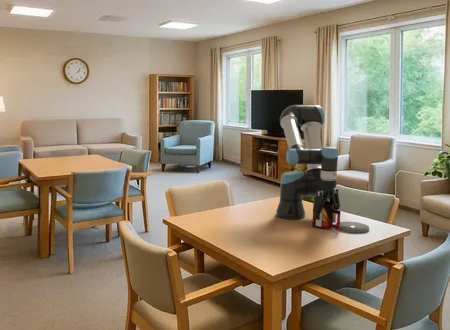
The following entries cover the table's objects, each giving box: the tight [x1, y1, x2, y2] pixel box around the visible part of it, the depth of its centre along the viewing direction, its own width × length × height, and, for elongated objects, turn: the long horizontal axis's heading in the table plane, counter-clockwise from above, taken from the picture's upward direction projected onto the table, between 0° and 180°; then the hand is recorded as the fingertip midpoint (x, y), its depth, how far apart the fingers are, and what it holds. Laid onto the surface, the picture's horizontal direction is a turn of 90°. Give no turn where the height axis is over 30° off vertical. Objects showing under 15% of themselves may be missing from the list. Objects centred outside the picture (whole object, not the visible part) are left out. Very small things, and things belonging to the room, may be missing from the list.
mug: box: [312, 200, 341, 231], centre depth 218 cm, size 10×14×12 cm
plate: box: [334, 221, 370, 235], centre depth 217 cm, size 16×16×1 cm
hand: (325, 224), depth 219 cm, fingers open, 11 cm apart
